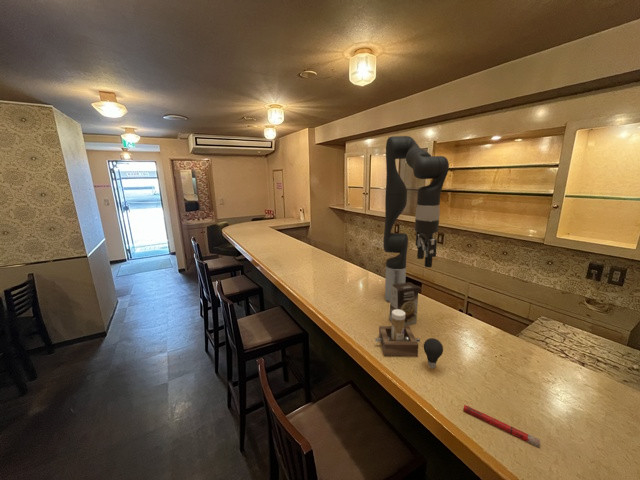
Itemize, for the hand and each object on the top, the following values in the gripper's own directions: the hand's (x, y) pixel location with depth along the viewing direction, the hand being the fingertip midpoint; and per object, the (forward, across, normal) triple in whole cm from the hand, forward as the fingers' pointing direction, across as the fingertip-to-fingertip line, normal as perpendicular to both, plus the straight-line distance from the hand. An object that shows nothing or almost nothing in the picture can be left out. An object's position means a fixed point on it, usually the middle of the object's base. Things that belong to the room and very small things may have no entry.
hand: (424, 262), depth 92 cm
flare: (+29, +38, +8) cm, 48 cm away
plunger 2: (+27, +8, -5) cm, 29 cm away
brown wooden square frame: (+29, +8, -10) cm, 31 cm away
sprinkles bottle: (+29, +8, -10) cm, 32 cm away
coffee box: (+29, -8, -4) cm, 31 cm away
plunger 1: (+27, +8, -15) cm, 32 cm away
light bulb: (+29, +18, -2) cm, 34 cm away
